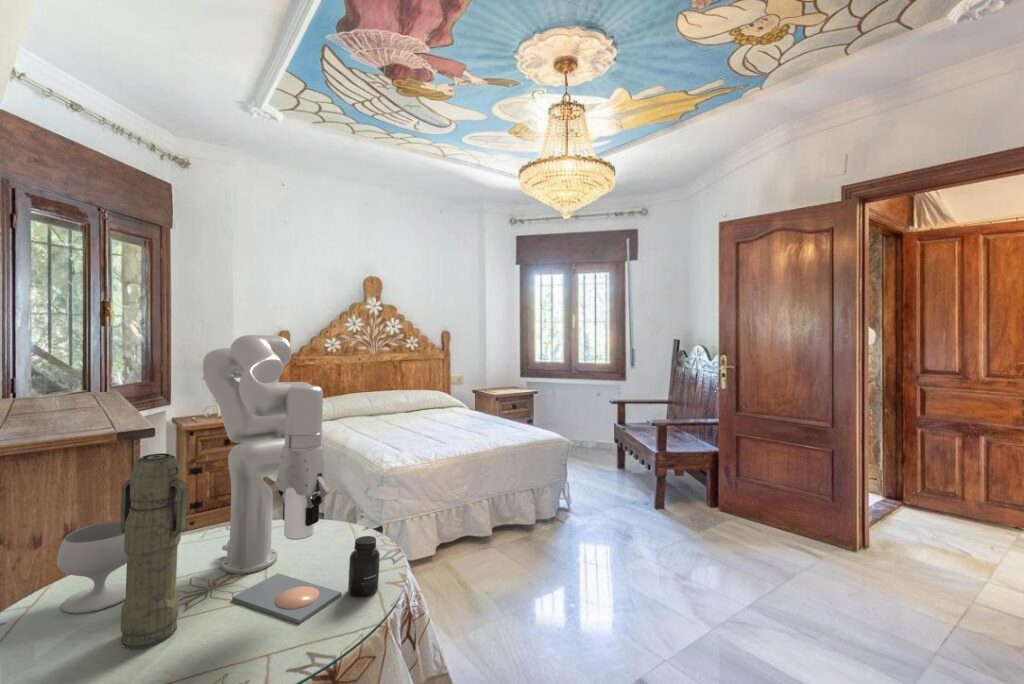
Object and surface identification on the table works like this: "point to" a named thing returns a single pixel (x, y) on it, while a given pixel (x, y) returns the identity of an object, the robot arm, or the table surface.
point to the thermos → (152, 549)
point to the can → (296, 516)
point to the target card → (287, 597)
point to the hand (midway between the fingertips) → (300, 520)
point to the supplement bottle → (364, 567)
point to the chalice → (94, 565)
